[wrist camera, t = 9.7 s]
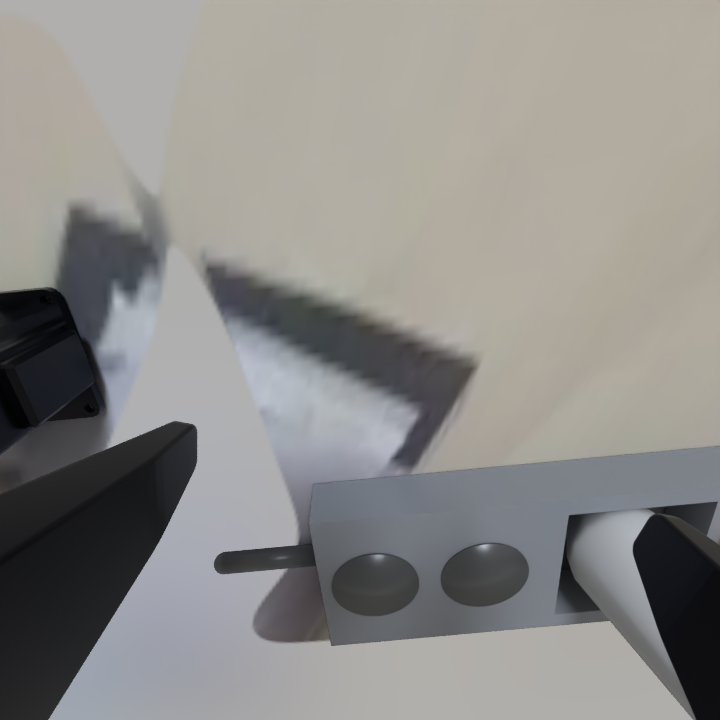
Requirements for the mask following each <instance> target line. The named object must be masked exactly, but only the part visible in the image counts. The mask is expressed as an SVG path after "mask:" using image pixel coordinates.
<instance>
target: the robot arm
mask: <svg viewBox="0 0 720 720" xmlns="http://www.w3.org/2000/svg"><path fill="white" fill-rule="evenodd" d="M46 295H47V296H48V297H50V299H51V302H52V303H49V302H48V301H47V300H46ZM89 404H91V405H93V406H94V408H95V409H94V408H91V407H90V406H89ZM103 409H104V403H103V400H102V398H101V395H100V392H99V390H98V387H97V385H96V382H95V377H94V375H93V372H92V370H91V367H90V364H89V362H88V359H87V357H86V354H85V352H84V349H83V346H82V344H81V341H80V339H79V336H78V334H77V333H76V331H75V328H74V326H73V323H72V320H71V318H70V315H69V313H68V310H67V308H66V305H65V302H64V300H63V297H62V296H61V294H60V293H59V292H58V291H57V290H56V289H53V288H49V287H45V288H35V289H24V290H14V291H4V292H0V455H1V454H2V453H3V452H5V451H6V450H7V449H8V448H10V447H11V446H12V445H14V444H15V443H16V442H17V441H19V440H20V439H21V438H23V437H24V436H25V435H26V434H28V433H29V432H30V431H32V430H33V429H34V428H36V427H39V426H40V425H42V424H43V423H44V422H45V421H54V420H65V419H75V418H86V417H94V416H97V415H98V414H99V413H100V412H101V411H102V410H103ZM196 463H197V429H196V427H195V426H194V425H193V424H189V423H183V422H178V421H174V422H171V423H168V424H166V425H164V426H161V427H159V428H157V429H154V430H152V431H150V432H147V433H145V434H142V435H140V436H137V437H135V438H133V439H130V440H128V441H126V442H123V443H121V444H118V445H116V446H114V447H111V448H109V449H106V450H104V451H102V452H99V453H97V454H94V455H92V456H90V457H87V458H85V459H83V460H80V461H78V462H75V463H73V464H71V465H68V466H66V467H63V468H61V469H59V470H56V471H54V472H52V473H49V474H47V475H44V476H42V477H40V478H37V479H35V480H32V481H30V482H28V483H25V484H23V485H21V486H18V487H16V488H13V489H11V490H9V491H6V492H4V493H1V494H0V720H48V719H49V718H50V716H51V714H52V713H53V711H54V710H55V708H56V706H57V705H58V703H59V702H60V700H61V698H62V697H63V695H64V694H65V692H66V690H67V689H68V687H69V686H70V684H71V683H72V681H73V679H74V678H75V676H76V675H77V673H78V671H79V670H80V668H81V666H82V665H83V663H84V662H85V660H86V659H87V657H88V655H89V654H90V652H91V650H92V649H93V647H94V646H95V644H96V643H97V641H98V639H99V638H100V636H101V635H102V633H103V631H104V630H105V628H106V626H107V625H108V623H109V622H110V620H111V618H112V617H113V615H114V614H115V612H116V610H117V609H118V607H119V606H120V604H121V603H122V601H123V599H124V598H125V596H126V595H127V593H128V591H129V590H130V588H131V586H132V585H133V583H134V582H135V580H136V579H137V577H138V575H139V574H140V572H141V570H142V569H143V567H144V566H145V564H146V562H147V561H148V559H149V558H150V556H151V555H152V553H153V551H154V550H155V548H156V546H157V544H158V543H159V541H160V539H161V537H162V535H163V533H164V531H165V529H166V527H167V525H168V523H169V521H170V519H171V517H172V515H173V513H174V511H175V509H176V507H177V505H178V503H179V501H180V499H181V497H182V494H183V492H184V490H185V488H186V486H187V484H188V482H189V480H190V478H191V476H192V474H193V472H194V469H195V467H196ZM632 551H633V557H634V560H635V563H636V566H637V569H638V572H639V575H640V578H641V581H642V584H643V587H644V590H645V593H646V596H647V599H648V602H649V605H650V608H651V611H652V614H653V617H654V620H655V623H656V626H657V628H658V631H659V634H660V637H661V639H662V642H663V644H664V647H665V649H666V652H667V654H668V656H669V659H670V661H671V663H672V666H673V668H674V670H675V673H676V675H677V677H678V679H679V682H680V684H681V686H682V689H683V691H684V693H685V696H686V698H687V700H688V703H689V705H690V707H691V709H692V712H693V714H694V716H695V719H696V720H720V545H719V544H718V543H716V542H715V541H713V540H712V539H710V538H709V537H707V536H706V535H704V534H703V533H701V532H700V531H698V530H697V529H695V528H694V527H692V526H691V525H689V524H688V523H686V522H685V521H683V520H682V519H680V518H678V517H675V516H670V515H664V514H659V513H658V514H653V515H652V516H650V517H649V518H648V520H647V522H646V523H645V525H644V526H643V528H642V530H641V531H640V533H639V534H638V536H637V538H636V539H635V541H634V543H633V549H632Z"/></svg>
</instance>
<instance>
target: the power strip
mask: <svg viewBox="0 0 720 720" xmlns="http://www.w3.org/2000/svg"><path fill="white" fill-rule="evenodd" d="M641 508H646V509H648V510H651V511H652V512H654V513H655V514H658V513H659V514H664V515H670V516H675V517H678V518H680V519H682V520H683V521H685V522H686V523H688V524H689V525H691V526H692V527H694V528H695V529H697V530H698V531H700V532H701V533H703V534H704V535H706V536H707V537H709V538H710V539H712V540H713V541H715V542H716V543H718V544H719V545H720V446H715V447H704V448H694V449H683V450H672V451H662V452H651V453H640V454H630V455H619V456H608V457H597V458H587V459H576V460H565V461H555V462H544V463H533V464H523V465H512V466H501V467H490V468H480V469H469V470H458V471H448V472H437V473H426V474H415V475H405V476H394V477H383V478H373V479H362V480H351V481H341V482H330V483H319V484H313V491H312V500H311V509H310V518H309V528H310V534H311V539H312V544H307V545H296V546H286V547H275V548H264V549H253V550H242V551H232V552H223V553H221V554H219V555H218V556H217V558H216V559H215V561H214V568H215V570H216V571H217V572H218V573H220V574H230V573H242V572H253V571H263V570H274V569H285V568H296V567H307V566H317V571H318V577H319V582H320V587H321V593H322V598H323V604H324V609H325V614H326V620H327V625H328V631H329V636H330V641H331V646H335V645H346V644H358V643H368V642H380V641H391V640H401V639H413V638H423V637H435V636H446V635H457V634H469V633H479V632H491V631H501V630H513V629H524V628H535V627H546V626H557V625H568V624H578V623H590V622H601V621H610V620H609V619H608V618H607V617H606V616H605V614H604V613H603V612H602V611H601V610H600V609H599V607H598V606H597V605H596V604H595V603H594V601H593V600H592V599H591V598H590V597H589V595H588V594H587V593H586V592H585V591H584V590H583V588H582V587H581V586H580V585H579V584H578V582H577V581H576V580H575V578H574V576H573V573H572V570H571V567H570V564H569V561H568V558H567V525H568V518H569V515H576V514H587V513H598V512H609V511H620V510H631V509H641Z"/></svg>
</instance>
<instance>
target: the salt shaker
mask: <svg viewBox="0 0 720 720" xmlns="http://www.w3.org/2000/svg"><path fill="white" fill-rule="evenodd" d="M653 514H655V513H654V512H652V511H651V510H648V509H646V508H641V509H631V510H620V511H609V512H598V513H587V514H576V515H569V518H568V525H567V558H568V561H569V564H570V567H571V570H572V573H573V576H574V578H575V580H576V581H577V582H578V584H579V585H580V586H581V587H582V588H583V590H584V591H585V592H586V593H587V594H588V595H589V597H590V598H591V599H592V600H593V601H594V603H595V604H596V605H597V606H598V607H599V609H600V610H601V611H602V612H603V613H604V614H605V616H606V617H607V618H608V619H609V620H610V622H611V623H612V624H613V625H614V626H615V627H616V629H617V630H618V631H619V632H620V633H621V635H622V636H623V637H624V638H625V639H626V640H627V642H628V643H629V644H630V645H631V646H632V648H633V649H634V650H635V651H636V652H637V653H638V655H639V656H640V657H641V658H642V660H643V661H644V662H645V663H646V664H647V665H648V666H649V668H650V669H651V670H652V671H653V673H654V674H655V675H656V676H657V677H658V679H659V680H660V681H661V682H662V683H663V684H664V686H665V687H666V688H667V689H668V690H669V692H671V694H672V695H673V696H674V697H675V699H676V700H677V701H678V702H679V703H680V705H681V706H682V707H683V708H684V709H685V711H686V712H687V713H688V714H689V715H690V716H691V718H692V719H693V720H696V719H695V716H694V714H693V712H692V709H691V707H690V705H689V703H688V700H687V698H686V696H685V693H684V691H683V689H682V686H681V684H680V682H679V679H678V677H677V675H676V673H675V670H674V668H673V666H672V663H671V661H670V659H669V656H668V654H667V652H666V649H665V647H664V644H663V642H662V639H661V637H660V634H659V631H658V628H657V626H656V623H655V620H654V617H653V614H652V611H651V608H650V605H649V602H648V599H647V596H646V593H645V590H644V587H643V584H642V581H641V578H640V575H639V572H638V569H637V566H636V563H635V560H634V557H633V551H632V549H633V543H634V541H635V539H636V538H637V536H638V534H639V533H640V531H641V530H642V528H643V526H644V525H645V523H646V522H647V520H648V518H649V517H650V516H652V515H653Z"/></svg>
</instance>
